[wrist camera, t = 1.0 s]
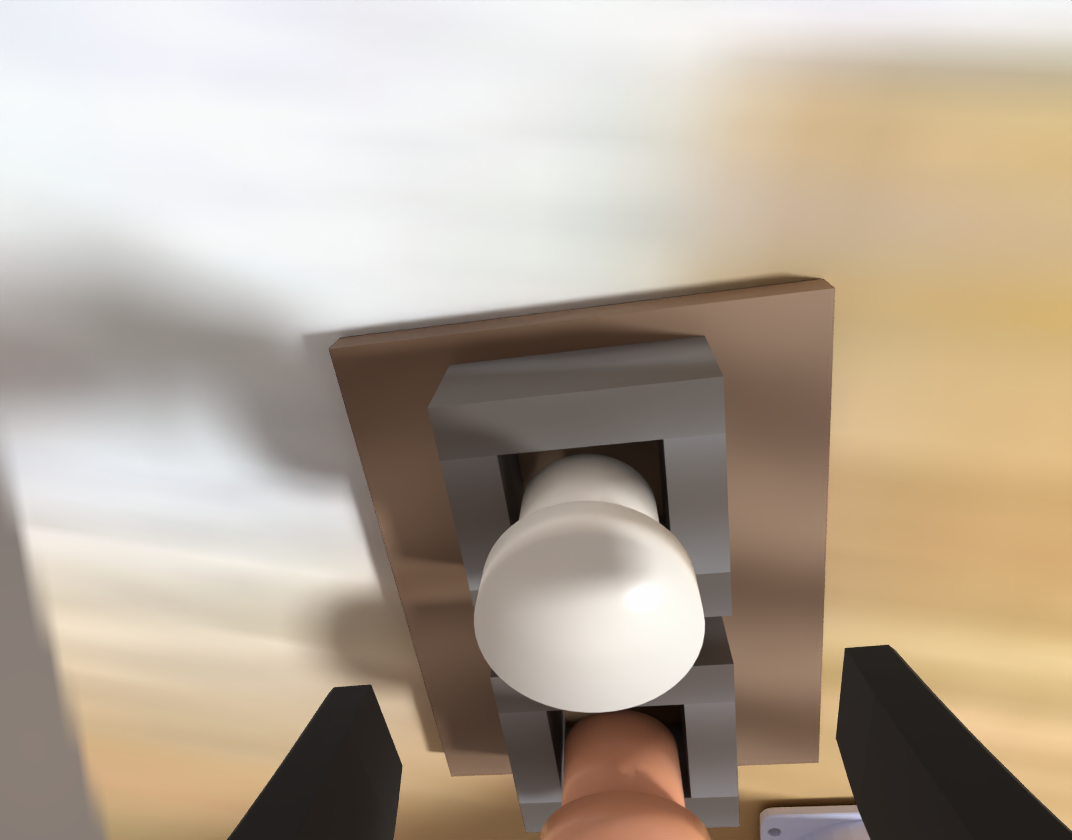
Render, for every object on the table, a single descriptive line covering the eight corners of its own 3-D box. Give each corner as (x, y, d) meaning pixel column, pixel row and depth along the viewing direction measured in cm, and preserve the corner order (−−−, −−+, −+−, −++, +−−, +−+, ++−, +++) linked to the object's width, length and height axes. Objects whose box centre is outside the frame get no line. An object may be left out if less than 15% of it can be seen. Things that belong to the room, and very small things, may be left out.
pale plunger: (685, 579, 19) (709, 707, 15) (513, 591, 20) (494, 717, 16) (674, 423, 17) (699, 524, 13) (484, 442, 18) (453, 543, 14)
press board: (810, 739, 27) (845, 841, 23) (455, 754, 28) (436, 851, 25) (823, 278, 19) (877, 322, 16) (340, 337, 21) (287, 389, 17)
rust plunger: (700, 798, 23) (723, 946, 19) (556, 802, 23) (549, 947, 20) (693, 691, 21) (716, 831, 17) (535, 699, 21) (522, 837, 18)
